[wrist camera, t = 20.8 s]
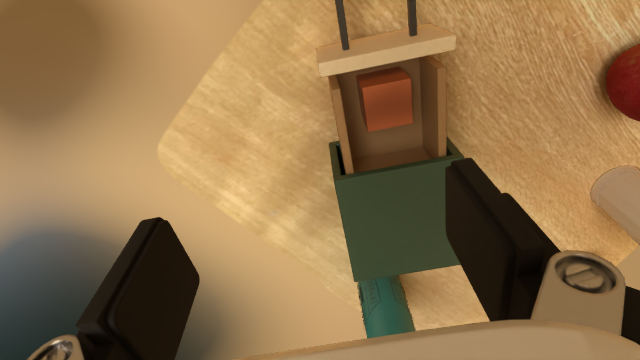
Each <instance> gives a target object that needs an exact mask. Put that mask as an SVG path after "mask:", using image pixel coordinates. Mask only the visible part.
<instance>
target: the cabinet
mask: <svg viewBox="0 0 640 360" xmlns="http://www.w3.org/2000/svg"><path fill="white" fill-rule="evenodd" d="M329 149H330V156H331V164H332V171H333V178H334V184H335V189H336V194H337V199H338V204H339V209H340V213H341V218H342V223H343V228H344V233H345V238H346V243H347V248H348V252H349V257H350V262H351V267H352V272H353V277H354V282H358V281H364V280H370V279H376V278H382V277H389V276H395V275H401V274H407V273H413V272H419V271H425V270H431V269H437V268H443V267H449V266H456V265H461V264H460V262H459V260H458V258H457V256H456V255H455V253H454V251H453V249H452V247H451V245H450V243H449V241H448V239H447V235H446V225H445V169H446V167H448V166H450V165H451V162H452V161H455V160H460V159H464V156H463V155H462V154H461V153H460V151H459V150H458V149H457V148H456V147H455V145H454V144H453V143H452V142H451V141H450V139H449V138H448V137H447V136H446V156H444V157H439V158H433V159H428V160H423V161H417V162H412V163H407V164H401V165H396V166H391V167H385V168H380V169H374V170H369V171H364V172H358V173H353V174H348V175H346V173H345V168H344V163H343V158H342V152H341V146H340V141H337V142H332V143H329Z"/></svg>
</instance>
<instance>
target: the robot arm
mask: <svg viewBox="0 0 640 360" xmlns="http://www.w3.org/2000/svg"><path fill="white" fill-rule="evenodd" d="M445 225H446V235H447V239H448V241H449V243H450V245H451V247H452V249H453V251H454V253H455V255H456V256H457V258H458V260H459V262H460V264H461V266H462V268H463V270H464V272H465V274H466V276H467V278H468V280H469V281H470V283H471V285H472V287H473V289H474V291H475V293H476V295H477V297H478V299H479V301H480V303H481V305H482V307H483V308H484V310H485V312H486V314H487V316H488V318H489V320H490V322H480V323H472V324H465V325H457V326H450V327H442V328H435V329H427V330H420V331H414V332H407V333H400V334H394V335H387V336H380V337H374V338H367V339H361V340H354V341H348V342H341V343H334V344H328V345H321V346H315V347H308V348H302V349H295V350H289V351H283V352H276V353H271V354H264V355H258V356H252V357H245V358H238V359H232V360H640V291H639V290H637V289H634V288H631V287H628V286H626V285H625V279H624V276H623V275H622V273H621V272H620V270H619V269H618V268H617V267H615V266H614V265H613V264H612V263H611V262H609V261H607V260H605V259H604V258H602V257H600V256H597V255H594V254H591V253H588V252H583V251H563V252H561V251H560V250H559V249H558V248H557V247H556V246H555V245H554V243H553V242H552V241H551V240H550V239H549V238H548V237H547V236H546V234H545V233H544V232H543V231H542V230H541V229H540V228H539V227H538V225H537V224H536V223H535V222H534V221H533V220H532V219H531V218H530V216H529V215H528V214H527V213H526V212H525V211H524V210H523V209H522V207H521V206H520V205H519V204H518V203H517V202H516V201H515V200H514V198H513V197H512V196H511V195H509V194H508V193H501V192H500V191H499V190H498V189H497V187H496V186H495V185H494V184H493V183H492V182H491V180H490V179H489V178H488V177H487V176H486V175H485V173H484V172H483V171H482V170H481V169H480V168H479V166H478V165H477V164H476V163H475V162H474V161H473V159H471V158H466V159H460V160H455V161H452V162H451V165H450V166H448V167H446V169H445ZM198 286H199V274H198V272H197V271H196V269H195V267H194V265H193V264H192V262H191V260H190V258H189V256H188V255H187V253H186V252H185V250H184V248H183V246H182V244H181V243H180V241H179V239H178V237H177V235H176V234H175V232H174V230H173V228H172V227H171V225H170V223H169V222H168V221H167V220H163V219H162V218H160V217H157V218H152V219H147V220H143V221H141V222H140V223H139V225H138V227H137V228H136V230H135V231H134V233H133V235H132V236H131V238H130V239H129V241H128V243H127V244H126V246H125V247H124V249H123V250H122V252H121V254H120V255H119V257H118V258H117V260H116V262H115V263H114V265H113V267H112V268H111V270H110V271H109V273H108V274H107V276H106V278H105V279H104V281H103V282H102V284H101V285H100V287H99V289H98V290H97V292H96V293H95V295H94V297H93V298H92V300H91V301H90V303H89V305H88V306H87V308H86V309H85V311H84V312H83V314H82V316H81V317H80V319H79V320H78V322H77V324H76V327H77V328H78V329H79V332H78V334H77V335H76V336H74V335H63V336H60V337H57V338H55V339H53V340H51V341H49V342H47V343H46V344H44V345H43V346H42V347H40V348H39V349H37V350H36V351H35V352H34V353H33V354H32V355H31V356H30V357H29V358H28V359H27V360H175V357H176V353H177V350H178V347H179V344H180V341H181V338H182V335H183V332H184V329H185V326H186V323H187V320H188V316H189V314H190V310H191V307H192V304H193V301H194V298H195V295H196V292H197V289H198Z"/></svg>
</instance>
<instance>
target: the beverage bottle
mask: <svg viewBox="0 0 640 360" xmlns="http://www.w3.org/2000/svg"><path fill="white" fill-rule="evenodd" d="M357 284H358V287H357V290H359V293H358V294H359V295H358V296H360V297H359V299H360V301H361V303H360V304H361V306H362V313H363V316H362V317H364V320H363V321H364V324H365V328H366V334H367V338H374V337H380V336H387V335H394V334H400V333H407V332H414V331H415V328H416V327H414V323H413V320H412V317H411V315H412V314H411V313H410V312H411V311H409V309H410V308H408V305H409V304H408V305H407V302H408V301H407V302H406V299H407V298H406V299H405V296H406V295H404V293H405V292H403V290H404V289H402V287H403V286H401V284H402V283H400V280H399V277H398V275H395V276H389V277H382V278H376V279H370V280H364V281H358V283H357ZM361 306H360V307H361Z"/></svg>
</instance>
